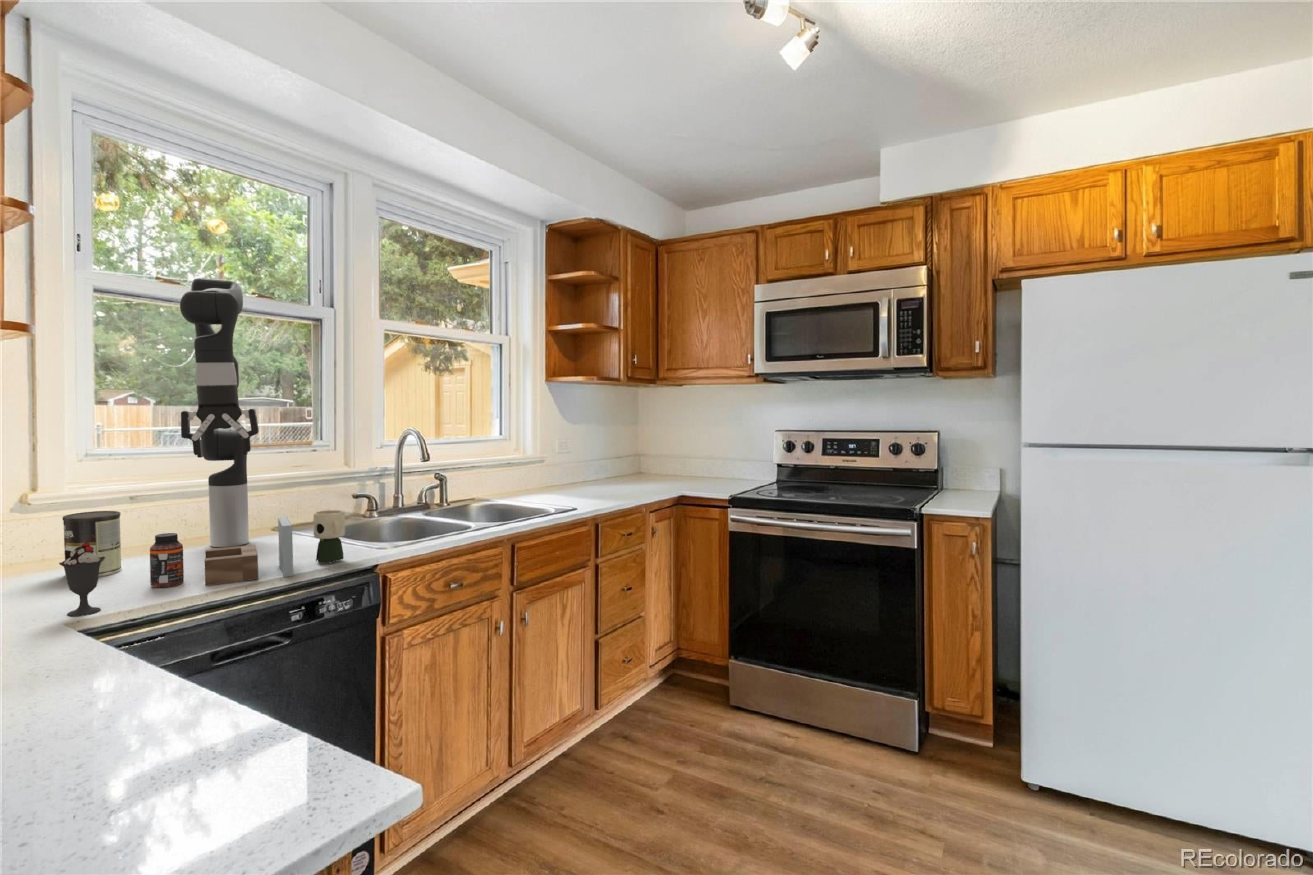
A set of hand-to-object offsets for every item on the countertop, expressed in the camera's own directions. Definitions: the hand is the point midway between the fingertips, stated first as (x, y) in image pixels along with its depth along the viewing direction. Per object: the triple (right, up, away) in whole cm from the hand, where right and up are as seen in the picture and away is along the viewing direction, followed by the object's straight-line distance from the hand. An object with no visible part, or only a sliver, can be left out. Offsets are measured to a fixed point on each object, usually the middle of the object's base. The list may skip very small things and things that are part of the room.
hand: (223, 455), depth 145 cm
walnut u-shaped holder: (-2, -28, +5) cm, 29 cm away
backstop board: (+7, -28, +12) cm, 31 cm away
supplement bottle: (-12, -29, -1) cm, 31 cm away
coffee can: (-36, -28, +8) cm, 46 cm away
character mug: (+14, -28, +20) cm, 37 cm away
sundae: (-13, -30, -20) cm, 38 cm away
